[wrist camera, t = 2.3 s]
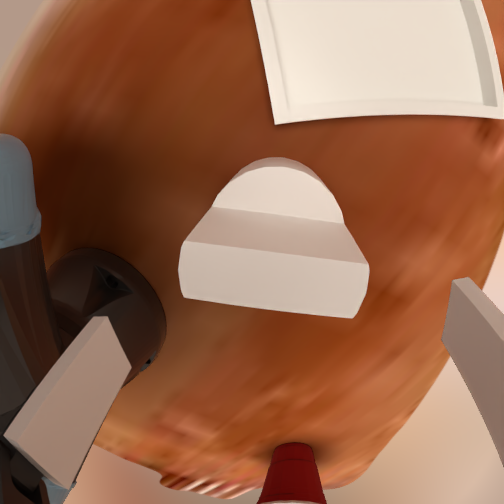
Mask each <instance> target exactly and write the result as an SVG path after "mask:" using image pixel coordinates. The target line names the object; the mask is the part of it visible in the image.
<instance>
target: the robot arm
mask: <svg viewBox="0 0 504 504" xmlns="http://www.w3.org/2000/svg"><path fill="white" fill-rule="evenodd" d="M40 228H41V214H40V211H39V209H38V208H37V206H36V198H35V189H34V178H33V166H32V159H31V156H30V153H29V151H28V149H27V147H26V146H25V145H24V143H23V142H22V141H21V140H19V139H18V138H16V137H14V136H12V135H8V134H0V504H63V502H64V501H65V499H66V497H67V496H68V494H69V492H70V491H71V489H72V488H74V486H75V485H76V483H77V482H76V478H77V476H78V474H79V472H80V470H81V468H82V465H83V463H84V461H85V459H86V457H87V454H88V452H89V450H90V448H91V446H92V444H93V442H94V440H95V438H96V436H97V434H98V432H99V430H100V428H101V426H102V424H103V422H104V420H105V418H106V416H107V414H108V412H109V410H110V408H111V406H112V403H113V402H114V400H115V398H116V396H117V394H118V392H119V391H120V389H122V388H123V387H124V386H125V385H126V384H128V383H129V382H130V381H131V380H133V379H134V378H135V377H136V376H137V375H138V374H139V373H140V372H141V371H143V370H145V369H146V368H147V367H148V366H150V365H151V364H152V362H153V361H154V360H155V358H156V357H157V355H158V353H159V351H160V349H161V347H162V345H163V342H164V340H165V335H166V320H165V315H164V311H163V308H162V306H161V303H160V301H159V299H158V297H157V295H156V293H155V292H154V290H153V289H152V287H151V286H150V285H149V283H148V282H147V281H146V280H145V278H144V277H143V276H142V275H141V274H140V273H139V272H138V271H137V270H136V269H135V268H133V267H132V266H131V265H130V264H128V263H127V262H125V261H124V260H122V259H121V258H119V257H117V256H115V255H113V254H111V253H109V252H106V251H103V250H99V249H94V248H80V249H76V250H73V251H70V252H69V253H67V254H65V255H64V256H63V257H61V258H60V259H59V260H57V261H56V262H55V263H54V264H53V265H52V266H51V267H50V268H49V270H48V271H47V273H46V269H45V263H44V257H43V251H42V244H41V237H40V231H41V230H40ZM441 340H442V342H443V344H444V345H445V347H446V349H447V351H448V352H449V354H450V356H451V357H452V359H453V361H454V363H455V365H456V366H457V368H458V370H459V372H460V373H461V375H462V377H463V379H464V381H465V383H466V385H467V387H468V389H469V391H470V393H471V395H472V397H473V399H474V401H475V403H476V405H477V407H478V409H479V411H480V413H481V415H482V417H483V419H484V422H485V424H486V426H487V428H488V430H489V432H490V435H491V437H492V439H493V442H494V444H495V447H496V449H497V451H498V454H499V456H500V459H501V461H502V464H503V467H504V314H503V313H502V312H501V311H500V310H499V309H498V308H497V307H496V305H495V304H494V303H493V302H492V301H491V300H490V299H489V298H488V297H487V296H486V295H485V294H484V293H483V291H482V290H481V289H480V288H479V287H478V286H477V285H476V284H475V283H474V282H473V281H472V280H471V279H470V278H469V277H466V278H461V279H456V280H452V286H451V292H450V298H449V304H448V310H447V315H446V320H445V325H444V330H443V334H442V339H441Z"/></svg>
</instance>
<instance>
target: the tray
mask: <svg viewBox="0 0 504 504" xmlns="http://www.w3.org/2000/svg"><path fill="white" fill-rule="evenodd" d="M251 3H252V8H253V12H254V17H255V22H256V26H257V31H258V36H259V41H260V46H261V51H262V56H263V61H264V66H265V72H266V77H267V82H268V88H269V93H270V99H271V104H272V110H273V116H274V122H275V125H278V124H285V123H293V122H302V121H311V120H320V119H331V118H344V117H359V116H379V115H449V116H468V117H482V118H495V119H504V94H503V87H502V81H501V75H500V70H499V65H498V60H497V55H496V51H495V46H494V42H493V38H492V35H491V31H490V27H489V24H488V21H487V17H486V14H485V11H484V8H483V5H482V2H481V0H251Z"/></svg>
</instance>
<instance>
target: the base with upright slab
mask: <svg viewBox="0 0 504 504" xmlns="http://www.w3.org/2000/svg"><path fill="white" fill-rule="evenodd" d="M369 272H370V271H369V264H368V262H367V261H366V259H365V257H364V256H363V254H362V252H361V251H360V249H359V247H358V246H357V244H356V242H355V241H354V239H353V237H352V236H351V234H350V232H349V231H348V229H347V227H346V226H345V224H344V220H343V215H342V211H341V209H340V207H339V205H338V204H337V202H336V200H335V198H334V196H333V194H332V193H331V192H330V191H329V189H328V188H327V187H326V185H325V184H324V183H323V181H322V180H321V179H320V178H319V177H318V176H317V175H316V174H315V173H314V172H313V171H312V170H311V169H310V168H308V167H307V166H305V165H303V164H302V163H300V162H298V161H295V160H291V159H288V158H284V157H268V158H264V159H261V160H257V161H254V162H252V163H250V164H249V165H247V166H245V167H244V168H242V169H241V170H240V171H239V172H238V173H237V174H236V175H235V176H234V177H233V178H232V179H231V180H230V182H229V183H228V184H227V185H226V186H225V187H224V188H223V189H222V191H221V192H220V193H219V194H218V195H217V197H216V199H215V201H214V203H213V205H212V207H211V208H210V209H209V210H208V212H207V213H206V214H205V215H204V216H203V218H202V219H201V220H200V221H199V223H198V224H197V225H196V226H195V228H194V229H193V230H192V232H191V233H190V234H189V235H188V237H187V238H186V239H185V240H184V242H183V244H182V247H181V252H180V259H179V266H178V273H179V280H180V287H181V292H182V294H183V296H184V298H191V299H197V300H203V301H210V302H217V303H224V304H231V305H238V306H245V307H253V308H261V309H268V310H277V311H285V312H294V313H303V314H312V315H322V316H332V317H343V318H353V317H354V316H355V315H356V314H357V312H358V310H359V308H360V306H361V303H362V301H363V299H364V297H365V295H366V291H367V285H368V278H369Z"/></svg>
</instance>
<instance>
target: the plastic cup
mask: <svg viewBox="0 0 504 504" xmlns="http://www.w3.org/2000/svg"><path fill="white" fill-rule="evenodd" d="M257 504H327V503H326V500H325V496H324V494H323V490H322V486H321V482H320V477H319V473H318V469H317V465H316V463H315V459H314V455H313V451H312V449H311V447H310V446H308V445H306V444H303V443H286V444H283V445H280V446H278V447H277V448H276V449H275V451H274V453H273V456H272V460H271V464H270V467H269V469H268V473H267V476H266V479H265V483H264V486H263V490H262V493H261V496H260V497H259V500H258V502H257Z"/></svg>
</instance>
